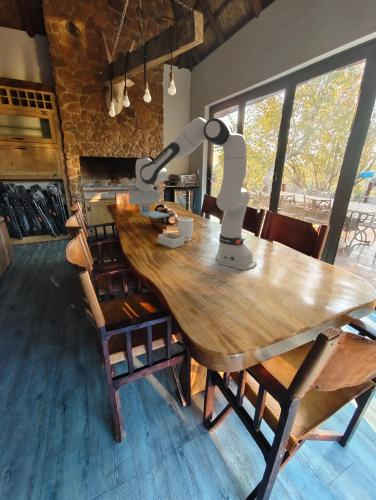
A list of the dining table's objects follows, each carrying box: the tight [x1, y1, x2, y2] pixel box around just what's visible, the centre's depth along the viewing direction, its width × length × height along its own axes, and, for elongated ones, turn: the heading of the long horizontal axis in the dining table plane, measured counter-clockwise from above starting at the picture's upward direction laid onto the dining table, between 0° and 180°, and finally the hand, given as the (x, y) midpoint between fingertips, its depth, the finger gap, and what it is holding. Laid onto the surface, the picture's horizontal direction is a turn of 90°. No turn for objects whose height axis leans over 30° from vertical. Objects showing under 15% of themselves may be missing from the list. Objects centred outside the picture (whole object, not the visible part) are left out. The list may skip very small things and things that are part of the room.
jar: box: [177, 216, 194, 242], centre depth 162 cm, size 11×10×15 cm
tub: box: [157, 231, 185, 249], centre depth 153 cm, size 14×10×6 cm
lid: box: [139, 204, 171, 220], centre depth 139 cm, size 19×11×4 cm, turn 47°
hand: (144, 210), depth 143 cm, fingers closed on lid, 3 cm apart
